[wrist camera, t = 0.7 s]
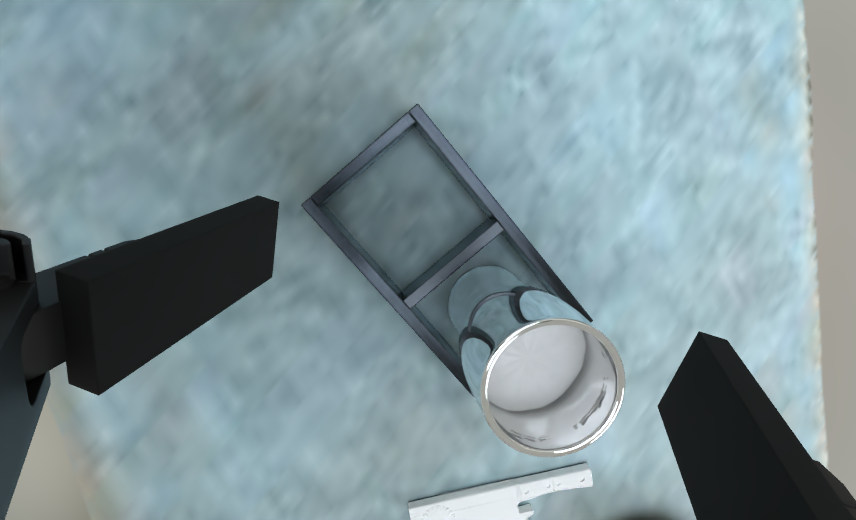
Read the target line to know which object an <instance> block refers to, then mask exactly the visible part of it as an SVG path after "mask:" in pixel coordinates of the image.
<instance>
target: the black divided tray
mask: <svg viewBox="0 0 856 520" xmlns="http://www.w3.org/2000/svg"><path fill="white" fill-rule="evenodd" d="M414 127H415V128H416V130H417V131H418V132H419V133H420V135H421V136H422V137H423V138H424V139H425V141H426V142H427V143H428V144H429V146H430V147H431V148H432V149H433V150H434V152H435V153H436V154H437V155H438V157H439V158H440V159H441V160H442V161H443V163H444V164H445V165H446V166H447V168H448V169H449V170H450V171H451V172H452V174H453V175H454V176H455V177H456V179H457V180H458V181H459V182H460V183H461V185H462V186H463V187H464V188H465V190H466V191H467V192H468V193H469V195H470V196H471V197H472V198H473V199H474V201H475V202H476V203H477V204H478V206H479V207H480V208H481V209H482V210H483V212H484V213H485V214H486V215H487V217H488V219H487V220H486V221H485V222H483V223H482V224H481V225H480V226H479V227H478V228H476V229H475V230H474V231H473V232H472V233H471V234H469V235H468V236H467V237H466V238H465V239H463V240H462V241H461V242H460V243H459V244H458V245H456V246H455V247H454V248H453V249H452V250H450V251H449V252H448V253H447V254H446V255H445V256H443V257H442V258H441V259H440V260H439V261H437V262H436V263H435V264H434V265H433V266H432V267H430V268H429V269H428V270H427V271H426V272H425V273H423V274H422V275H421V276H420V277H419V278H417V279H416V280H415V281H414V282H413V283H412V284H410V285H409V286H408V287H407V288H406V289H404V290H403V291H401V290H400V289H399V287H398V286H397V285H396V284H395V283H394V282H393V281H392V280H391V278H390V277H389V276H388V275H387V274H386V273H385V272H384V271H383V269H382V268H381V267H380V266H379V265H378V264H377V263H376V262H375V260H374V259H373V258H372V257H371V256H370V255H369V254H368V253H367V251H366V250H365V249H364V248H363V247H362V246H361V245H360V244H359V242H358V241H357V240H356V239H355V238H354V237H353V236H352V235H351V233H350V232H349V231H348V230H347V229H346V228H345V227H344V226H343V224H342V223H341V222H340V221H339V220H338V219H337V218H336V217H335V215H334V214H333V213H332V212H331V211H330V210H329V209H328V208H327V207H326V205H325V204H327V203H328V202H329V201H330V200H331V199H333V198H334V197H335V196H336V195H337V194H338V193H339V192H341V191H342V190H343V189H344V188H345V187H346V186H348V185H349V184H350V183H351V182H352V181H353V180H354V179H356V178H357V177H358V176H359V175H360V174H361V173H362V172H364V171H365V170H366V169H367V168H368V167H369V166H371V165H372V164H373V163H374V162H375V161H376V160H377V159H379V158H380V157H381V156H382V155H383V154H384V153H385V152H387V151H388V150H389V149H390V148H391V147H392V146H394V145H395V144H396V143H397V142H398V141H399V140H400V139H402V138H403V137H404V136H405V135H406V134H407V133H408V132H410V131H411V130H412V129H413V128H414ZM301 206H302V207H303V208H304V209H305V210H306V211H307V212H308V214H309V215H310V216H311V217H312V218H313V219H314V220H315V221H316V222H317V224H318V225H319V226H320V227H321V228H322V229H323V230H324V231H325V232H326V234H327V235H328V236H329V237H330V238H331V239H332V240H333V241H334V242H335V243H336V245H337V246H338V247H339V248H340V249H341V250H342V251H343V252H344V253H345V255H346V256H347V257H348V258H349V259H350V260H351V261H352V262H353V263H354V265H355V266H356V267H357V268H358V269H359V270H360V271H361V272H362V273H363V275H364V276H365V277H366V278H367V279H368V280H369V281H370V282H371V283H372V285H373V286H374V287H375V288H376V289H377V290H378V291H379V292H380V293H381V295H382V296H383V297H384V298H385V299H386V300H387V301H388V302H389V303H390V305H391V306H392V307H393V308H394V309H395V310H396V311H397V312H398V313H399V315H400V316H401V317H402V318H403V319H404V320H405V321H406V322H407V323H408V325H409V326H410V327H411V328H412V329H413V330H414V331H415V332H416V333H417V335H418V336H419V337H420V338H421V339H422V340H423V341H424V342H425V343H426V345H427V346H428V347H429V348H430V349H431V350H432V351H433V352H434V353H435V355H436V356H437V357H438V358H439V359H440V360H441V361H442V362H443V363H444V365H445V366H446V367H447V368H448V369H449V370H450V371H451V372H452V373H453V375H454V376H455V377H456V378H457V379H458V380H459V381H460V382H461V383H462V385H463V386H464V387H465V388H466V389H467V390H468V391H469V392H470V393H471V395H472V396H473V394H472V392H471V390H470V387H469V385H468V383H467V380H466V378H465V375H464V371H463V368H462V364H461V360H460V356H459V355H458V354H457V353H456V352H455V350H454V349H453V348H452V347H451V346H450V345H449V344H448V343H447V341H446V340H445V339H444V338H443V337H442V336H441V335H440V334H439V332H438V331H437V330H436V329H435V328H434V327H433V326H432V325H431V323H430V322H429V321H428V320H427V319H426V318H425V317H424V316H423V314H422V313H421V312H420V311H419V310H418V309H417V308H416V307H415V305H416V304H417V303H418V302H419V301H421V300H422V299H423V298H424V297H425V296H426V295H428V294H429V293H430V292H431V291H432V290H434V289H435V288H436V287H437V286H438V285H439V284H441V283H442V282H443V281H444V280H445V279H447V278H448V277H449V276H450V275H451V274H452V273H454V272H455V271H456V270H457V269H458V268H460V267H461V266H462V265H463V264H464V263H465V262H467V261H468V260H469V259H470V258H471V257H473V256H474V255H475V254H476V253H477V252H479V251H480V250H481V249H482V248H483V247H484V246H486V245H487V244H488V243H489V242H490V241H492V240H493V239H494V238H495V237H496V236H497V235H499V234H500V233H501V234H502V235H503V236H504V237H505V239H506V240H507V241H508V242H509V243H510V245H511V246H512V247H513V248H514V250H515V251H516V252H517V253H518V254H519V256H520V257H521V258H522V259H523V261H524V262H525V263H526V264H527V265H528V267H529V268H530V269H531V270H532V272H533V273H534V274H535V275H536V276H537V278H538V279H539V280H540V281H541V283H542V284H543V285H544V286H545V287H546V289H547V290H548V291H549V292H550V293H551V294H553V295H554V296H556V297H558V298H560V299H561V300H563V301H565V302H566V303H568V304H569V305H570V306H572V307H573V308H574V309H575V310H577V311H578V312H579V313H580V314H582V315H583V316H584V317H585V318H586V319H587V320H588V321H589V322H590V323H591V322H592V321H593V320H592V319H591V317H590V316H589V315H588V314H587V312H586V311H585V310H584V309H583V308H582V306H581V305H580V304H579V303H578V301H577V300H576V299H575V298H574V296H573V295H572V294H571V293H570V291H569V290H568V289H567V288H566V286H565V285H564V284H563V283H562V282H561V280H560V279H559V278H558V277H557V275H556V274H555V273H554V272H553V270H552V269H551V268H550V267H549V265H548V264H547V263H546V262H545V260H544V259H543V258H542V257H541V255H540V254H539V253H538V252H537V251H536V249H535V248H534V247H533V246H532V244H531V243H530V242H529V241H528V239H527V238H526V237H525V236H524V234H523V233H522V232H521V231H520V229H519V228H518V227H517V226H516V225H515V223H514V222H513V221H512V220H511V218H510V217H509V216H508V215H507V213H506V212H505V211H504V210H503V208H502V207H501V206H500V205H499V203H498V202H497V201H496V200H495V199H494V197H493V196H492V195H491V194H490V192H489V191H488V190H487V189H486V187H485V186H484V185H483V184H482V182H481V181H480V180H479V179H478V177H477V176H476V175H475V174H474V172H473V171H472V170H471V169H470V168H469V166H468V165H467V164H466V163H465V161H464V160H463V159H462V158H461V156H460V155H459V154H458V153H457V151H456V150H455V149H454V148H453V146H452V145H451V144H450V143H449V142H448V140H447V139H446V138H445V137H444V135H443V134H442V133H441V132H440V130H439V129H438V128H437V127H436V125H435V124H434V123H433V122H432V120H431V119H430V118H429V117H428V116H427V114H426V113H425V112H424V111H423V109H422V108H421V107H420V106H419V104H416V105H415V106H414V107H413V108H412V109H411V110H409V112H407V113H406V114H405V115H404V116H403V117H401V118H400V119H399V120H398V121H397V122H396V123H395V124H393V125H392V126H391V127H390V128H389V129H388V130H386V131H385V132H384V133H383V134H382V135H381V136H380V137H378V138H377V139H376V140H375V141H374V142H373V143H372V144H370V145H369V146H368V147H367V148H366V149H365V150H364V151H362V152H361V153H360V154H359V155H358V156H357V157H356V158H354V159H353V160H352V161H351V162H350V163H349V164H348V165H346V166H345V167H344V168H343V169H342V170H341V171H340V172H338V173H337V174H336V175H335V176H334V177H333V178H331V179H330V180H329V181H328V182H327V183H326V184H325V185H323V186H322V187H321V188H320V189H319V190H318V191H317V192H315V193H314V194H313V195H312V196H311V198H309V199H307V200H306V201H305V202H304V203H303V204H302V205H301ZM473 397H474V396H473Z"/></svg>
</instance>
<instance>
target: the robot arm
mask: <svg viewBox="0 0 856 520" xmlns="http://www.w3.org/2000/svg"><path fill="white" fill-rule="evenodd" d="M278 209H279V202H277V201H274V200H271V199H268V198H265V197H261V196H255V197H252V198H250V199H247V200H244V201H242V202H239V203H236V204H233V205H231V206H228V207H225V208H223V209H220V210H217V211H214V212H212V213H209V214H206V215H204V216H201V217H198V218H195V219H193V220H190V221H187V222H184V223H182V224H179V225H176V226H174V227H171V228H168V229H165V230H163V231H160V232H157V233H155V234H152V235H149V236H146V237H144V238H141V239H137V240H131V241H124V242H121V243H118V244H116V245H113V246H110V247H107V248H105V250H104V251H103V250H99V251H96V252H94V253H91V254H89V256H82V257H80V258H77V259H74V260H71V261H69V262H66V263H63V264H60V265H57V266H55V267H52V268H49V269H46V270H44V271H41V272H38V273H35V268H34V261H33V254H32V246H31V239H30V238H28V237H27V236H25V235H24V234H20V233H17V232H13V231H4V230H0V520H5V516H6V514H7V511H8V508H9V505H10V502H11V499H12V496H13V493H14V490H15V487H16V485H17V482H18V478H19V476H20V472H21V469H22V466H23V464H24V461H25V458H26V455H27V452H28V449H29V446H30V443H31V440H32V437H33V434H34V432H35V429H36V426H37V423H38V419H39V417H40V414H41V411H42V408H43V405H44V402H45V399H46V396H47V393H48V390H49V387H50V373H49V370H51V369H53V368H54V367H56V366H58V365H60V364H61V363H63V362H65V361H66V365H67V373H68V381H69V384H71V385H74V386H76V387H79V388H81V389H84V390H86V391H89V392H91V393H94V394H96V395H100V394H102V393H103V392H105V391H106V390H108V389H109V388H110V387H112V386H113V385H115V384H116V383H118V382H119V381H121V380H122V379H124V378H125V377H127V376H128V375H130V374H131V373H132V372H134V371H135V370H137V369H138V368H140V367H141V366H143V365H144V364H146V363H147V362H149V361H150V360H151V359H153V358H154V357H156V356H157V355H159V354H160V353H162V352H163V351H165V350H166V349H168V348H169V347H171V346H172V345H173V344H175V343H176V342H178V341H179V340H181V339H182V338H184V337H185V336H187V335H188V334H190V333H191V332H192V331H194V330H195V329H197V328H198V327H200V326H201V325H203V324H204V323H206V322H207V321H209V320H210V319H212V318H213V317H214V316H216V315H217V314H219V313H220V312H222V311H223V310H225V309H226V308H228V307H229V306H231V305H232V304H233V303H235V302H236V301H238V300H239V299H241V298H242V297H244V296H245V295H247V294H248V293H250V292H251V291H252V290H254V289H255V288H257V287H258V286H260V285H261V284H263V283H264V282H266V281H267V280H269V279H270V278H272V273H273V262H274V252H275V241H276V230H277V220H278ZM658 409H659V412H660V415H661V417H662V420H663V423H664V426H665V429H666V432H667V435H668V438H669V441H670V444H671V446H672V449H673V452H674V455H675V458H676V461H677V464H678V467H679V470H680V472H681V475H682V478H683V481H684V484H685V487H686V490H687V493H688V496H689V498H690V501H691V504H692V507H693V510H694V513H695V516H696V519H697V520H856V500H855V499H854V498H853V496H852V495H851V494H850V493H849V491H848V490H847V488H846V487H845V486H844V484H843V483H841V482H840V481H839V480H838V479H837V478H836V477H835V476H834V475H833V474H832V473H831V472H829V471H828V470H827V469H826V468H825V467H824V466H823V465H822V464H821V463H820V462H818V461H815V460H812V458H811V457H810V455H809V454H808V453H807V451H806V450H805V448H804V447H803V446H802V444H801V443H800V441H799V440H798V439H797V437H796V436H795V434H794V433H793V432H792V430H791V429H790V427H789V426H788V425H787V423H786V422H785V420H784V419H783V418H782V416H781V415H780V413H779V412H778V411H777V409H776V408H775V406H774V405H773V404H772V402H771V401H770V399H769V398H768V397H767V395H766V394H765V392H764V391H763V390H762V388H761V387H760V385H759V384H758V383H757V381H756V380H755V378H754V377H753V376H752V374H751V373H750V371H749V370H748V369H747V367H746V366H745V364H744V363H743V362H742V360H741V359H740V357H739V356H738V355H737V353H736V352H735V350H734V349H733V348H732V346H731V345H730V343H729V342H728V341H727V340H725V339H722V338H719V337H715V336H712V335H709V334H706V333H703V332H698V334H697V336H696V338H695V339H694V341H693V343H692V345H691V347H690V348H689V350H688V352H687V354H686V356H685V358H684V359H683V361H682V363H681V365H680V367H679V368H678V370H677V372H676V374H675V376H674V377H673V379H672V381H671V383H670V385H669V386H668V388H667V390H666V392H665V394H664V395H663V397H662V399H661V401H660V403H659V405H658Z"/></svg>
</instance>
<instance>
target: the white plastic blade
mask: <svg viewBox="0 0 856 520" xmlns="http://www.w3.org/2000/svg"><path fill="white" fill-rule="evenodd" d="M592 486H593V481H592V474H591V469H590V467H589V466H588V464H587V463H584V464H579V465H575V466H570V467H566V468H561V469H557V470H552V471H548V472H543V473H539V474H534V475H530V476H525V477H520V478H515V479H514V480H512V479H510V480H505V481H503V482H502V481H500V482H498V483H497V482H495V483H494V484H493V483H491V484H489V485H488V484H486V485H485V486H483V485H481V486H480V487H478V486H476V488H473V487H471V489H468V488H466V489H467V490H463V489H461V490H462V491H459V490H457V491H458V492H454V491H452V492H453V493H449V492H447V493H449V494H445V493H443V494H444V495H440V496H435V497H431V498H426V499H422V500H417V501H413V502H408V507H409V514H410V518H411V520H529V519H528V517H529V516H530V517H531V516H532V515H533V513H534V512H533V509H532V507H531V505H530V504H526V505H522V506H518V504H519V503H520V502H522V501H525V500H528V499H531V498H534V497H537V496H540V495H543V494H546V493H550V492H551V493H553V492H554V491H560V490H566V489H574V488H582V487H592Z"/></svg>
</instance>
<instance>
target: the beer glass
mask: <svg viewBox="0 0 856 520" xmlns="http://www.w3.org/2000/svg"><path fill="white" fill-rule="evenodd" d="M448 312H449V316H450V319H451V322H452V324H453V325H454V327H455V328H456V330H457V331H458V332H459V333H460V334H459V350H460V360H461V364H462V368H463V371H464V375H465V378H466V380H467V383H468V385H469V387H470V390H471V392H472V394H473V396H474V398H475V400H476V401H477V403H478V405H479V407H480V408H481V410H482V412H483V413H484V416H485V418H486V420H487V422H488V424H489V426H490V428H491V429H492V430H493V432H494V433H495V434H496V435H497V436H498V437H499V438H500V439H501V440H502V441H503V442H504V443H505V444H507V445H508V446H510V447H511V448H513V449H515V450H517V451H519V452H522V453H524V454H528V455H532V456H537V457H558V456H564V455H568V454H571V453H574V452H577V451H579V450H581V449H583V448H585V447H587V446H589V445H590V444H592V443H593V442H594V441H596V440H597V439H598V438H599V437H600V436H602V435H603V434H604V433H605V431H606V430H607V429H608V428H609V427H610V425H611V424H612V423H613V421H614V419H615V418H616V416H617V414H618V412H619V410H620V407H621V404H622V401H623V397H624V392H625V373H624V368H623V364H622V361H621V358H620V356H619V354H618V352H617V350H616V348H615V347H614V345H613V344H612V343H611V341H610V340H609V339H608V338H607V337H606V336H605V335H604V334H603V333H602V332H600V331H599V330H598V329H596V328H595V327H594V326H593V325H592V324H591V323H590V322H589V321H588V320H587V319H586V318H585V317H584V316H583V315H582V314H580V313H579V312H578V311H577V310H575V309H574V308H573V307H572V306H570V305H569V304H568V303H566V302H565V301H563V300H561V299H560V298H558V297H556V296H554V295H553V294H551V293H549V292H547V291H544V290H541V289H538V288H535V287H531V286H527V285H522V283H521V282H520V280H519V279H518V278H517V277H516V276H515V275H514V274H512V273H511V272H510V271H508V270H506V269H504V268H501V267H497V266H481V267H477V268H474V269H472V270H470V271H468V272H466V273H465V274H463V275H462V276H461V277H460V278H459V279H458V280H457V281H456V283H455V284H454V286H453V288H452V290H451V292H450V295H449V300H448Z"/></svg>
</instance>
